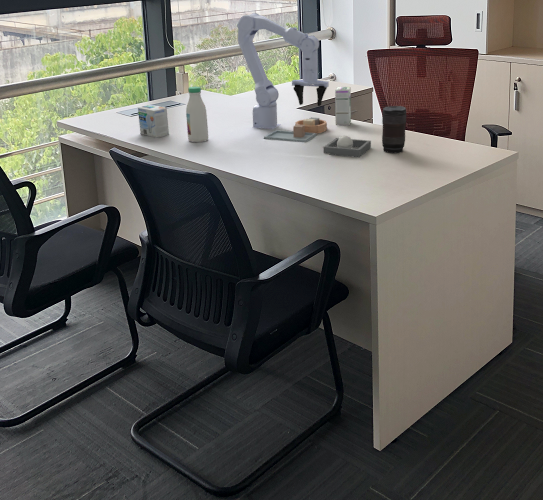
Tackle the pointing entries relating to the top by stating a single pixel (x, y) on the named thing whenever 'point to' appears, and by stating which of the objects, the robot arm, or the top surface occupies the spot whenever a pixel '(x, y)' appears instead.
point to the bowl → (314, 127)
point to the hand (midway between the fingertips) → (310, 104)
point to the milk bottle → (196, 116)
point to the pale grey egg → (345, 142)
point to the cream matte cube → (309, 122)
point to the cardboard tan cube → (299, 130)
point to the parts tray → (288, 136)
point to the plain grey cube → (315, 120)
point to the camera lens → (393, 129)
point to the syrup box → (343, 106)
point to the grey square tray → (361, 144)
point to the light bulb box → (153, 121)
